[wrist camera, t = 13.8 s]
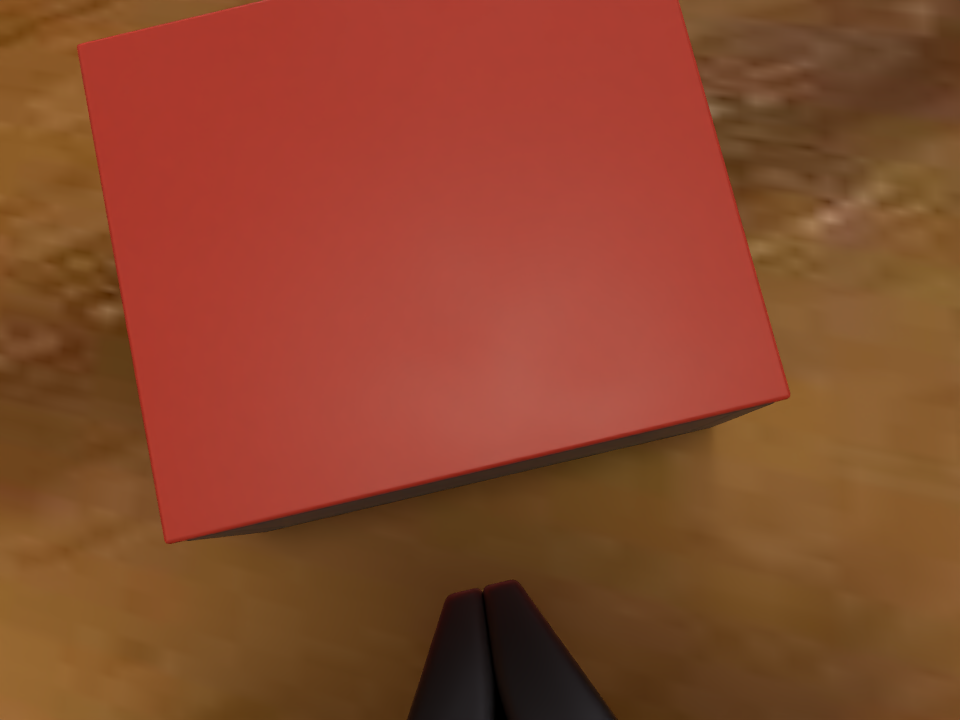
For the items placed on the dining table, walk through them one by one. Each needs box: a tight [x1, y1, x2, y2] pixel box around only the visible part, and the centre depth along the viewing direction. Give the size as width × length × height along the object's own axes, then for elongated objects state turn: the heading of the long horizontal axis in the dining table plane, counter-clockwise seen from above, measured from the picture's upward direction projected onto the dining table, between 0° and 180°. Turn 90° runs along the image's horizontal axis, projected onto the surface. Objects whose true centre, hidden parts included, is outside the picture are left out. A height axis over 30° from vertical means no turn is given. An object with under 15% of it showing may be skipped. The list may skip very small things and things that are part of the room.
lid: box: [77, 0, 790, 544], centre depth 16 cm, size 11×13×1 cm
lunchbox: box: [187, 402, 774, 541], centre depth 20 cm, size 10×13×5 cm
